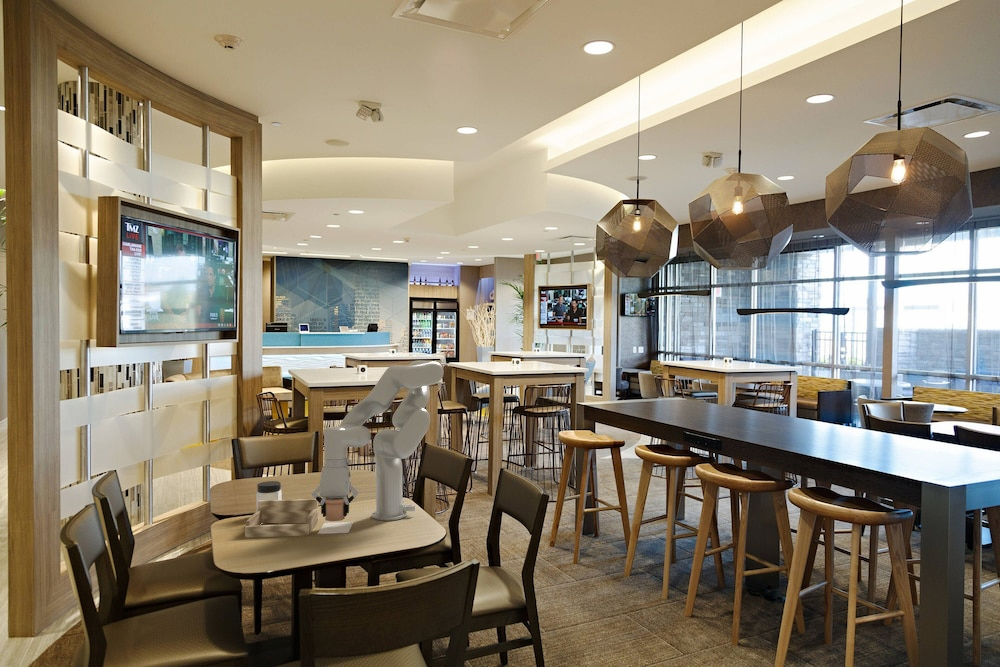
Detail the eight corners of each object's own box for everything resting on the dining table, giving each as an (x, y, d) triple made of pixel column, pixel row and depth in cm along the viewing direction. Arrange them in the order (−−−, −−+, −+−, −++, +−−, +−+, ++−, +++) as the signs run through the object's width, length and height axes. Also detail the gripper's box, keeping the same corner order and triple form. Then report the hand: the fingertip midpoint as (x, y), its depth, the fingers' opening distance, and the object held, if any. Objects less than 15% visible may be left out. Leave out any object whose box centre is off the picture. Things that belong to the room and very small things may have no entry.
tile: (353, 522, 231) (353, 521, 231) (348, 533, 219) (348, 532, 219) (324, 523, 230) (324, 522, 230) (317, 534, 218) (317, 533, 218)
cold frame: (318, 521, 233) (317, 498, 233) (308, 535, 217) (308, 511, 217) (259, 523, 231) (259, 500, 231) (245, 537, 215) (244, 513, 215)
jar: (259, 520, 234) (259, 487, 234) (253, 515, 241) (253, 483, 241) (284, 516, 239) (284, 483, 239) (278, 511, 246) (278, 479, 246)
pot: (347, 515, 228) (347, 495, 228) (344, 521, 221) (344, 500, 221) (326, 516, 227) (326, 495, 227) (322, 521, 220) (322, 500, 220)
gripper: (362, 460, 229) (362, 512, 229) (311, 461, 227) (311, 513, 227) (359, 465, 221) (359, 518, 221) (307, 465, 220) (307, 519, 220)
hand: (335, 515), depth 224 cm, fingers closed on pot, 6 cm apart
